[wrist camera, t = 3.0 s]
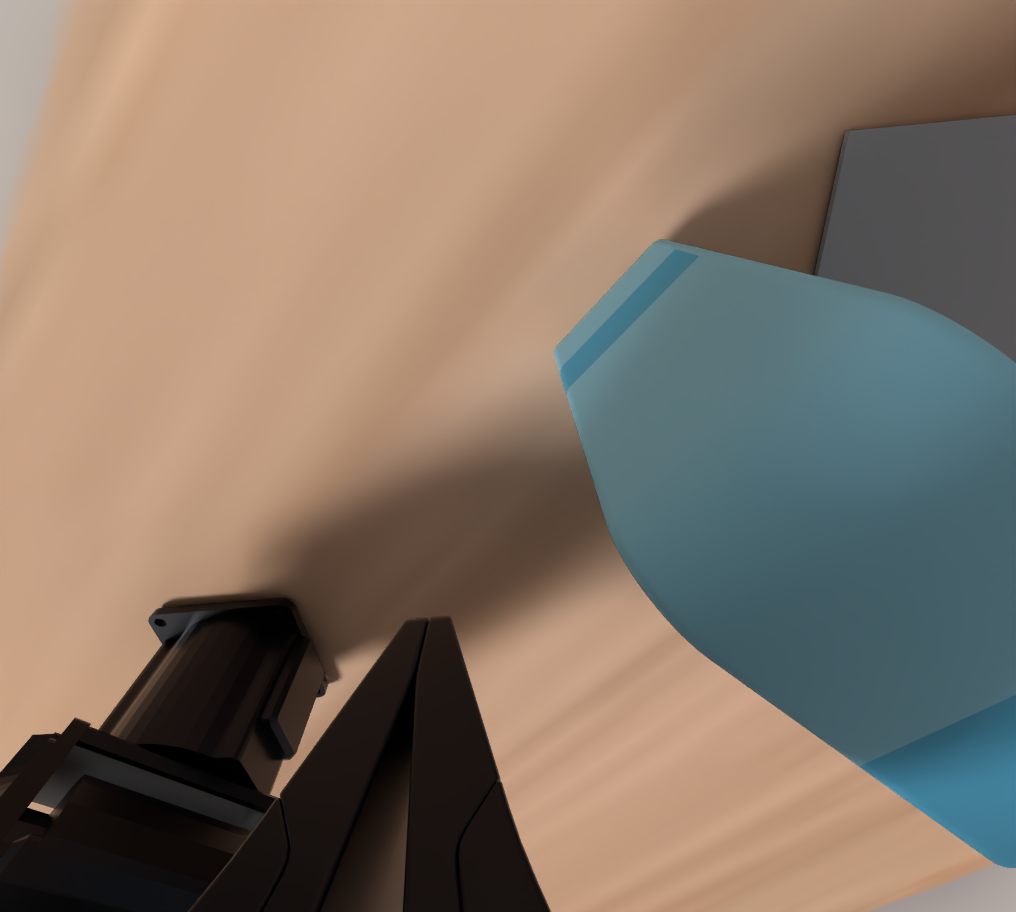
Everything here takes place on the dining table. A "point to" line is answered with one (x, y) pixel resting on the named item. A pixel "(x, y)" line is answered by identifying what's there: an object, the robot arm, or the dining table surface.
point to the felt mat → (930, 220)
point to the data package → (820, 509)
